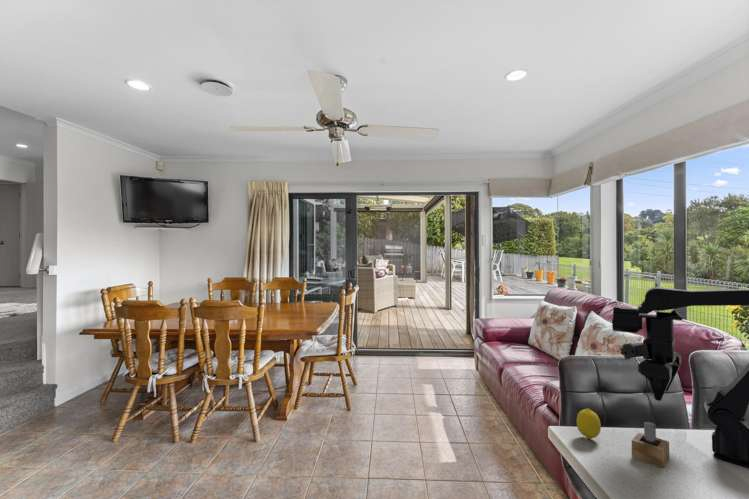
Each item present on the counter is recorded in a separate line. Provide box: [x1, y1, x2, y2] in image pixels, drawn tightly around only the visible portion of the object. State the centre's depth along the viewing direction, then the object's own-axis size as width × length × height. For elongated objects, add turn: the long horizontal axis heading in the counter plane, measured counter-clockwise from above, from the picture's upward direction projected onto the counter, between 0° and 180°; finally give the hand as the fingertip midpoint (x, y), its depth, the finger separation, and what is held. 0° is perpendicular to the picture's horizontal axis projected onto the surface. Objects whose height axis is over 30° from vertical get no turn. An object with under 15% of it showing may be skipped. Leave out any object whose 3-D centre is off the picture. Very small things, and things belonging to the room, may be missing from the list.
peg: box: [643, 421, 657, 446], centre depth 86 cm, size 2×2×8 cm
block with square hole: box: [631, 432, 670, 469], centre depth 86 cm, size 6×6×4 cm
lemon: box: [576, 408, 602, 440], centre depth 95 cm, size 6×6×8 cm
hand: (661, 395), depth 94 cm, fingers open, 9 cm apart
